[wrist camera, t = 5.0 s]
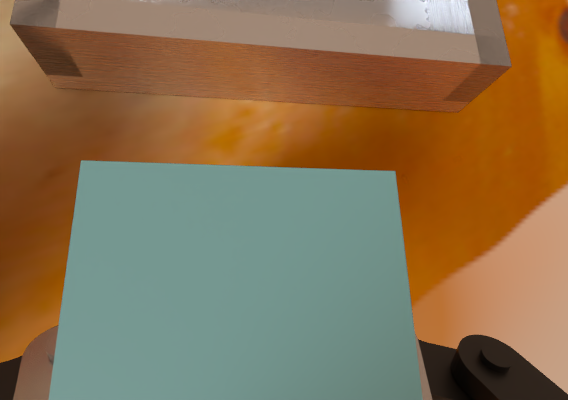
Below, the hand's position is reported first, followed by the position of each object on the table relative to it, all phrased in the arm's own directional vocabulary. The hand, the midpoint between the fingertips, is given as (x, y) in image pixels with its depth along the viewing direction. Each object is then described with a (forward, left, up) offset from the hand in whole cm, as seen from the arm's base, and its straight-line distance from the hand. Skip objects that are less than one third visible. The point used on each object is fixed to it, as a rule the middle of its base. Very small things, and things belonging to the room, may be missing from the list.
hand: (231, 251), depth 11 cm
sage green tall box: (+1, -1, -6) cm, 6 cm away
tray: (-8, +11, -6) cm, 14 cm away
